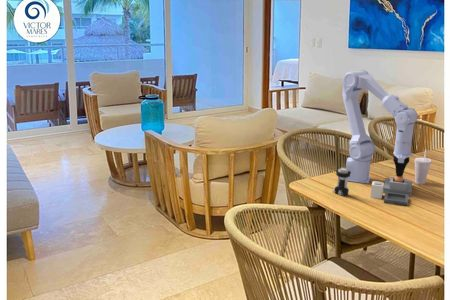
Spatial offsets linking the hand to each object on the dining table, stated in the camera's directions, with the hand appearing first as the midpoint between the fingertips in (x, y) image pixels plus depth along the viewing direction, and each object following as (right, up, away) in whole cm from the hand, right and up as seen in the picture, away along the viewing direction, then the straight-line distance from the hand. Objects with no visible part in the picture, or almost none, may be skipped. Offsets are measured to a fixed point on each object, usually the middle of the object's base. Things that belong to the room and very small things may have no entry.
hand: (399, 175), depth 179 cm
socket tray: (-4, -9, -7) cm, 11 cm away
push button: (-23, -7, -1) cm, 24 cm away
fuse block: (-10, -8, -3) cm, 12 cm away
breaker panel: (+1, -5, +4) cm, 7 cm away
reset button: (0, -3, +1) cm, 3 cm away
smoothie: (+13, -4, +12) cm, 17 cm away
